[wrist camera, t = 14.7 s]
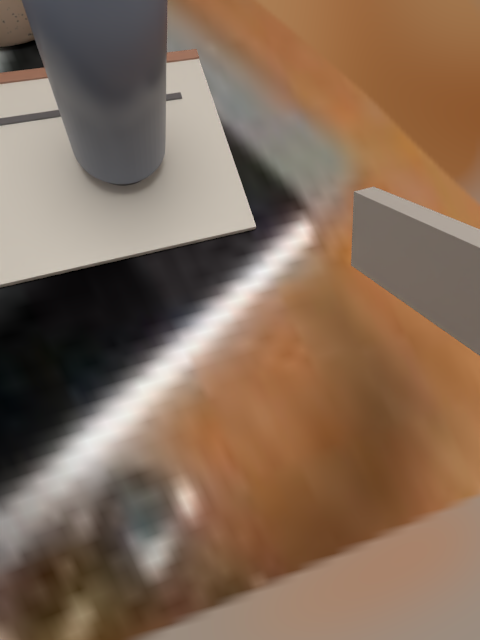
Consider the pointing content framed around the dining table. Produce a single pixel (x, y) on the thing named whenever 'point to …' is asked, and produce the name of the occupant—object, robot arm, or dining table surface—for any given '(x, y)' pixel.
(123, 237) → the sheet
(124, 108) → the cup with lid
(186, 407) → the dining table surface
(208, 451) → the dining table surface
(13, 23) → the teacup with lid
